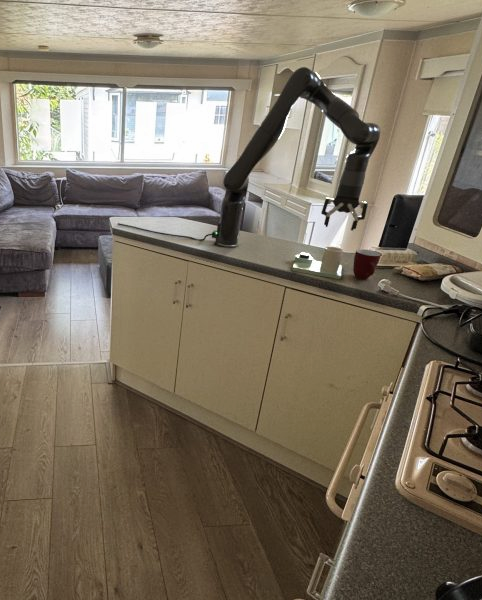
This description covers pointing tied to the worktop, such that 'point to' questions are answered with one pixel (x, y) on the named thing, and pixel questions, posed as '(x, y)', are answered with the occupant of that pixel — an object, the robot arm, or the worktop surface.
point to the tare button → (304, 255)
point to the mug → (365, 263)
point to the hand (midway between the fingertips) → (339, 228)
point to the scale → (314, 268)
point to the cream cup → (331, 259)
